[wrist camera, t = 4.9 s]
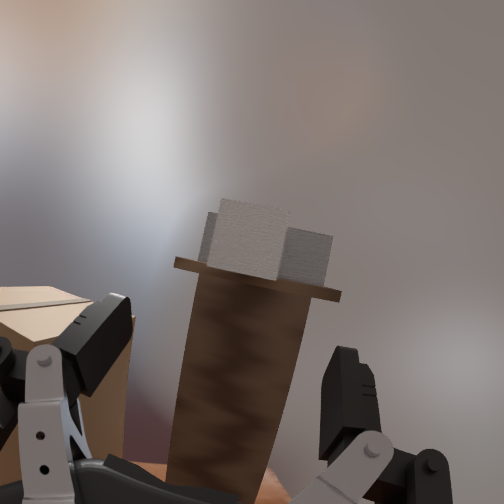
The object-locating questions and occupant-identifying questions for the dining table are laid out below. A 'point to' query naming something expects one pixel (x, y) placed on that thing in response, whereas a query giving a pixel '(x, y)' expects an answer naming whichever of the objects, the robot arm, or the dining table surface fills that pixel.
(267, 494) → the dining table surface
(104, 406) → the cardboard box
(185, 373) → the tall wooden plank
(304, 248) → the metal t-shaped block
